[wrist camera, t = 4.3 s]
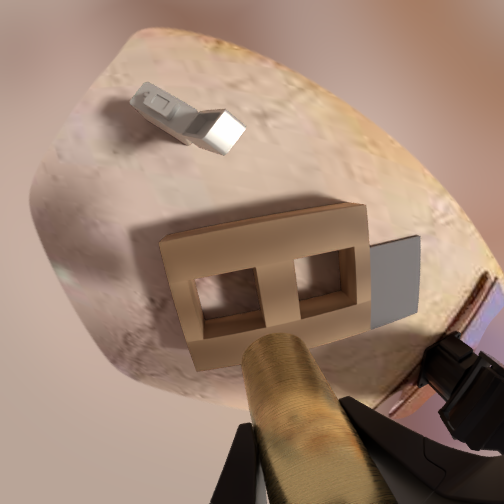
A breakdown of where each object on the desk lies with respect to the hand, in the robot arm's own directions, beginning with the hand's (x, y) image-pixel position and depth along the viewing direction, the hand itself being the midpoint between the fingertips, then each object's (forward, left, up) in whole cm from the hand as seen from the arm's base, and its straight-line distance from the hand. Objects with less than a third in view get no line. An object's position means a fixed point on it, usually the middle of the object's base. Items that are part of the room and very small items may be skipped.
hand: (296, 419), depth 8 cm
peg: (0, 0, -4) cm, 4 cm away
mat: (-3, -13, -14) cm, 19 cm away
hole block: (0, -2, -14) cm, 14 cm away
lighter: (+12, +2, -14) cm, 18 cm away
